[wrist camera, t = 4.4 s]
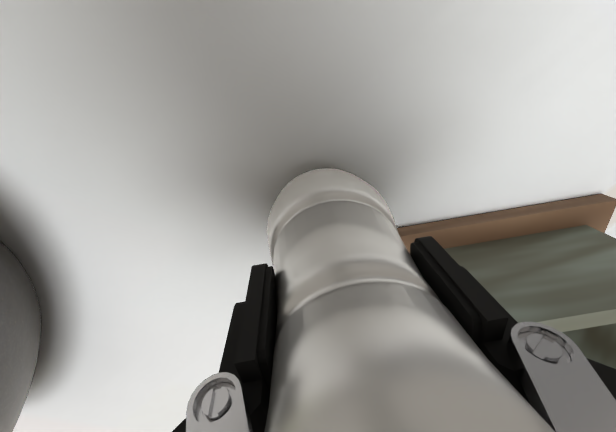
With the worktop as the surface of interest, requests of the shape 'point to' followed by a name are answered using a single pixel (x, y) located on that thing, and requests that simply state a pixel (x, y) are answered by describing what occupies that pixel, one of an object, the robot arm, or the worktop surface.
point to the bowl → (16, 337)
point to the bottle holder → (542, 265)
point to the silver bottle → (369, 326)
